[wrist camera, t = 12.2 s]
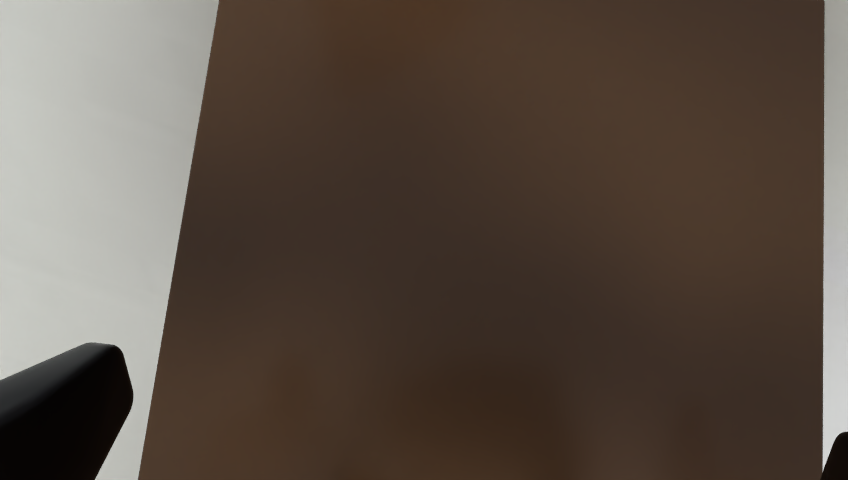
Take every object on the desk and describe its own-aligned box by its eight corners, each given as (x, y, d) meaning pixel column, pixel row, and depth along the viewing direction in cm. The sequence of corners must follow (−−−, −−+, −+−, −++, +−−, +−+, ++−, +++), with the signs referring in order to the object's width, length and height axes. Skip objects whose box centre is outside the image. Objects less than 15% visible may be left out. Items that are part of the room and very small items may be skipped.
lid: (800, 741, 11) (1002, 1017, 6) (136, 616, 12) (-81, 758, 8) (807, 20, 13) (960, -167, 8) (236, 9, 15) (108, -149, 10)
